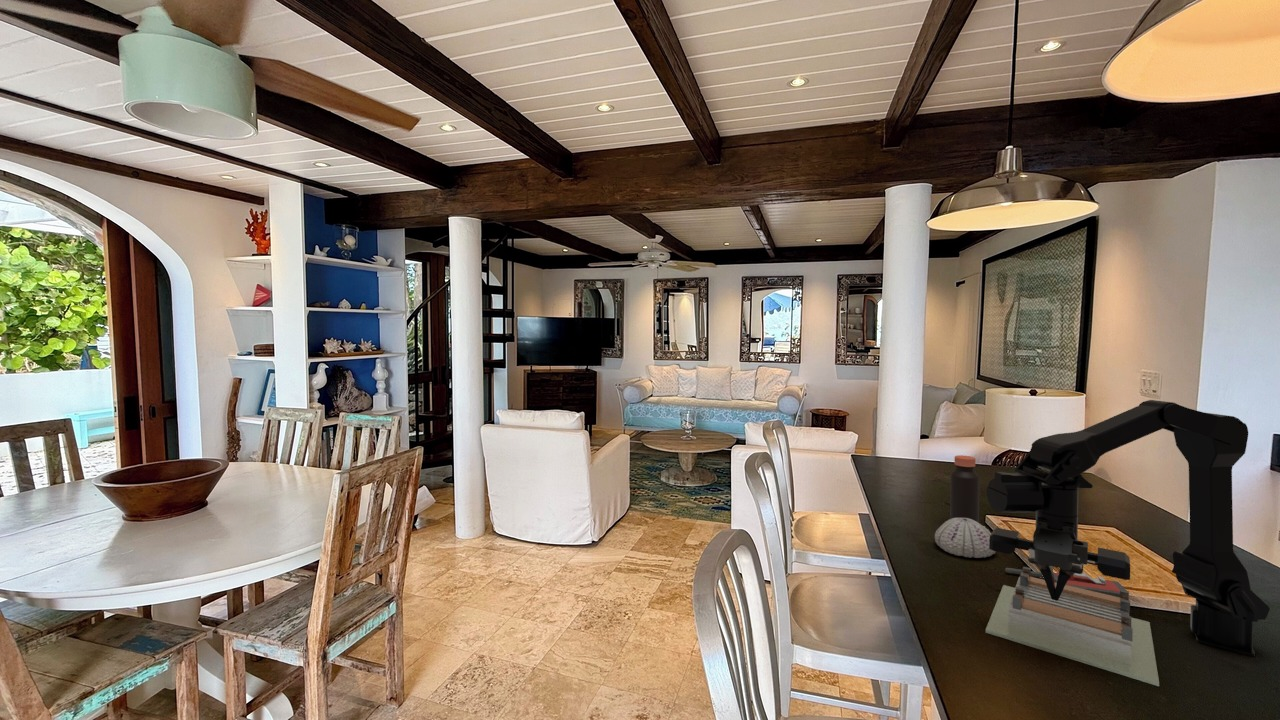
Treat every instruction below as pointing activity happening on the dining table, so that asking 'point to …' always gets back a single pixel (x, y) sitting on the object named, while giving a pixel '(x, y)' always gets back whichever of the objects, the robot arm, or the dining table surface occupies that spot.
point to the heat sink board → (1076, 630)
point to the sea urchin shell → (964, 538)
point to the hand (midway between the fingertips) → (1054, 599)
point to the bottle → (964, 489)
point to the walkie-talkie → (1083, 582)
